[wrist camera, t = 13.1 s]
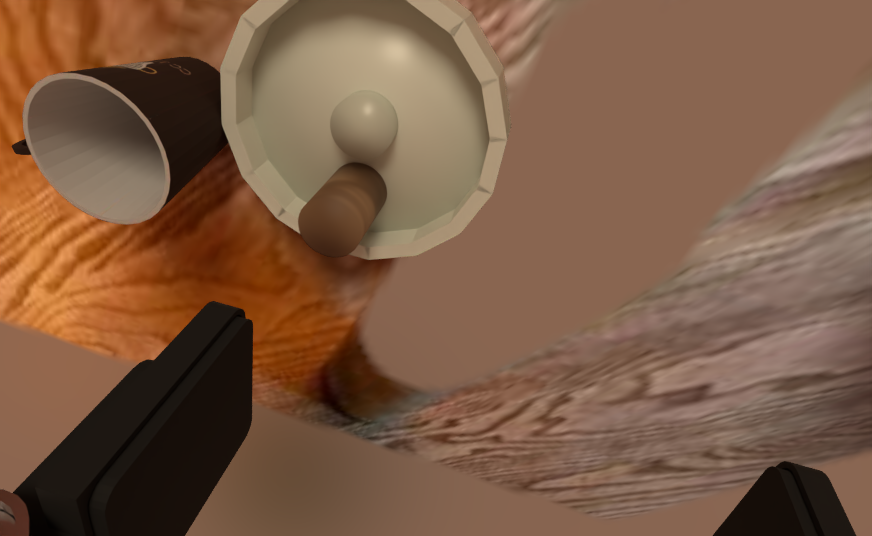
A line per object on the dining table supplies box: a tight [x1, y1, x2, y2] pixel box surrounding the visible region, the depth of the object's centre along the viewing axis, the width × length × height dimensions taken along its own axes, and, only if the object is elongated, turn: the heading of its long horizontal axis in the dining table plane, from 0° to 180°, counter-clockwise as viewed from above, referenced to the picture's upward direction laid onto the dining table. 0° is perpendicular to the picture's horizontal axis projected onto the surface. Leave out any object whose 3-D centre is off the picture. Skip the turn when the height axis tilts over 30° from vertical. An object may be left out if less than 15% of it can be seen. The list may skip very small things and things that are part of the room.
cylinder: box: [298, 162, 387, 257], centre depth 37 cm, size 4×4×6 cm
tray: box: [220, 0, 511, 260], centre depth 36 cm, size 18×18×3 cm
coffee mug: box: [12, 57, 228, 224], centre depth 35 cm, size 12×9×10 cm
